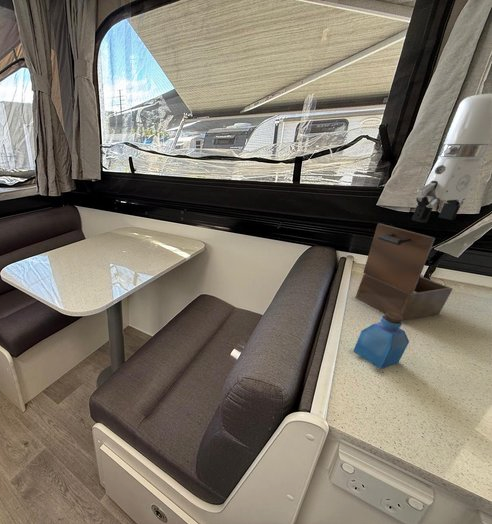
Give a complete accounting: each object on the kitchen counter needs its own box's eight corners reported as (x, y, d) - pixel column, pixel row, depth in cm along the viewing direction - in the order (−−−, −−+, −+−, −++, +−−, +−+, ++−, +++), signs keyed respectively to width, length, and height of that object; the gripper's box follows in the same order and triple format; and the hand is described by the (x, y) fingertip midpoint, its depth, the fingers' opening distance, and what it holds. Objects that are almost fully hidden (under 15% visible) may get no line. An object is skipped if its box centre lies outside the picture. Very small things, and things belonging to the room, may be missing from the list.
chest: (391, 291, 92) (401, 268, 89) (439, 314, 80) (453, 288, 77) (354, 297, 89) (363, 274, 86) (399, 321, 77) (411, 295, 74)
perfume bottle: (353, 350, 67) (369, 310, 62) (370, 345, 68) (388, 305, 64) (380, 368, 61) (400, 326, 56) (398, 362, 63) (419, 320, 58)
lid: (379, 223, 79) (365, 226, 78) (435, 237, 66) (418, 241, 66) (365, 272, 86) (351, 275, 85) (413, 293, 73) (397, 297, 73)
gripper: (454, 154, 61) (424, 226, 68) (508, 152, 65) (473, 221, 72) (417, 153, 68) (393, 219, 75) (467, 151, 71) (439, 214, 78)
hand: (432, 220), depth 73 cm, fingers open, 9 cm apart
